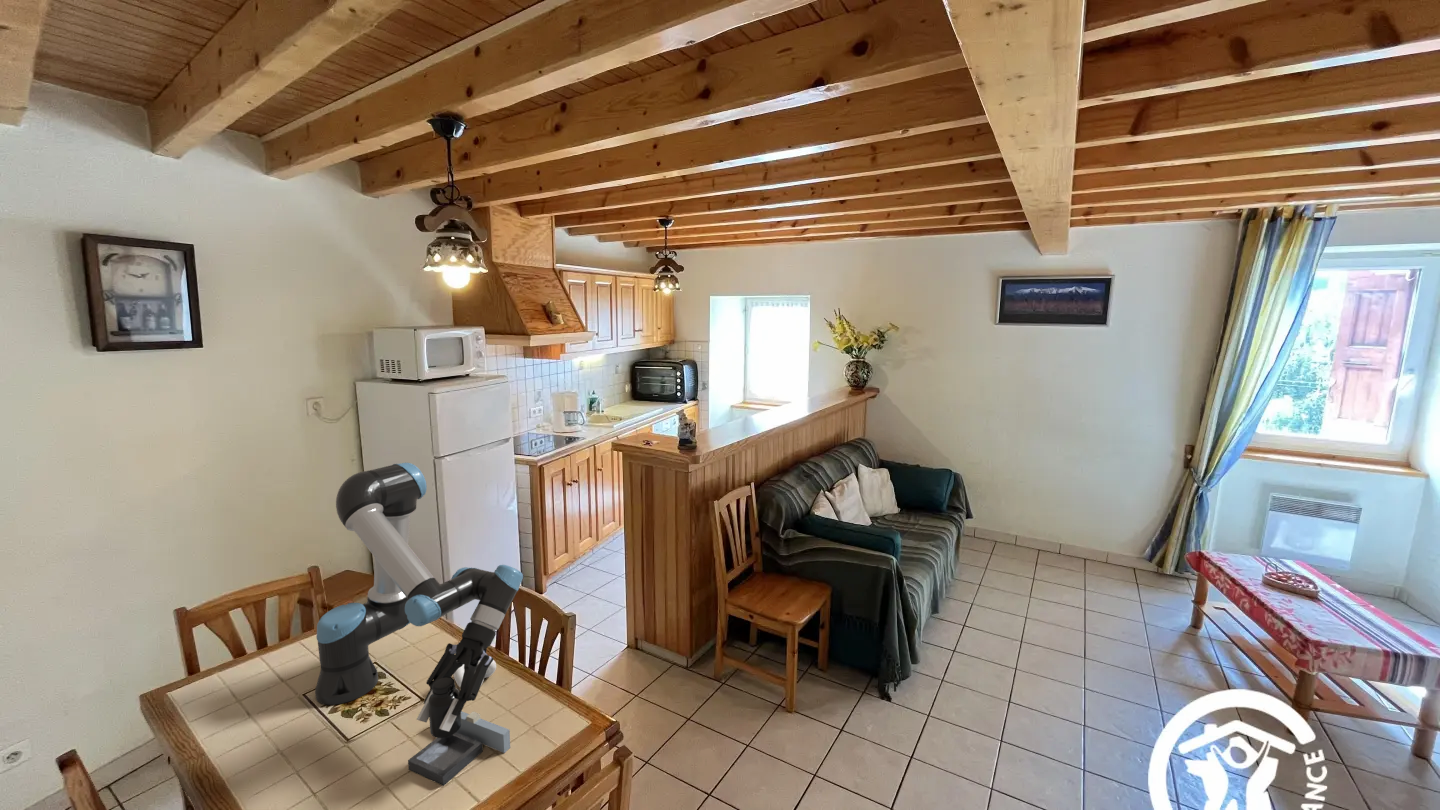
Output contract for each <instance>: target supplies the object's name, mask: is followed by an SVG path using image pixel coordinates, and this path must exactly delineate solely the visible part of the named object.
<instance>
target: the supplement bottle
mask: <svg viewBox="0 0 1440 810" xmlns="http://www.w3.org/2000/svg"><path fill="white" fill-rule="evenodd" d="M432 688H433V690H432V693H433V694H432V695H431V696H430V698H429V718H428V720H429V732H430V735H431V736H432V737H433V738H435V739H436V738H445V737H449V736H451V735H453V734H454V733H456V732H457V731H458V730H459V729H460V727H461V723H462V721H461V713H460V715H459V716H456V719H455V721H454V723H453V725H452V727H451V729H450V731H445V730H441V729H439V728H440V726H441V724H442V722H443V720H444V718H445V716H446V714H447V712H448V710H449V708H450V706H451V704H452V702H453V700H454V698H456V696H459V692H460V689H458V687H456V681H455V678H454V677H452V676H451V677H445V678H441V679H439V680H437V681H436V682H434V683H433V686H432ZM456 699H457V698H456Z"/></svg>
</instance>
